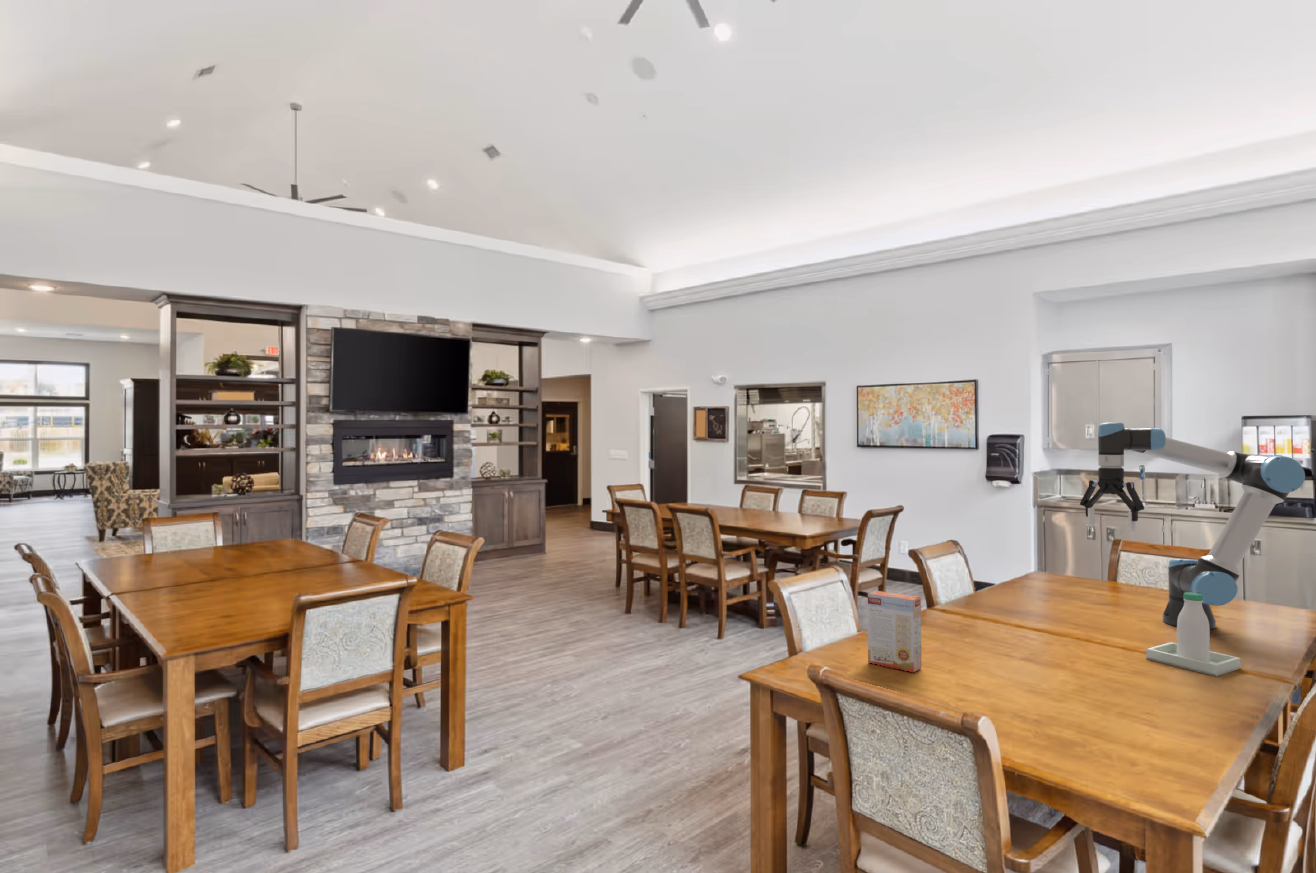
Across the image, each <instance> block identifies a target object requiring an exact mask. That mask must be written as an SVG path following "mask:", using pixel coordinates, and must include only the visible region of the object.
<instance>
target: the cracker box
mask: <svg viewBox="0 0 1316 873" xmlns="http://www.w3.org/2000/svg"><path fill="white" fill-rule="evenodd" d="M867 663H868V664H870V663H872V664H871V665H875V664H877V665H876V666H880V665H881V666H882V667H884V666H885V668H889V667H890V669H894V668H897V669H896V670H898V669H901V670H900V671H903V670H904V671H903V672H907V671H909V672H908V673H911V672H914V673H916V672H917V671H919V670H921V669H922V597H921V596H915V595H908V594H902V593H895V592H887V591H881V590H874V591H871V592H868V593H867Z"/></svg>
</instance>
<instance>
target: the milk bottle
mask: <svg viewBox="0 0 1316 873" xmlns="http://www.w3.org/2000/svg"><path fill="white" fill-rule="evenodd" d="M1183 597H1184V599H1183V600H1184V606H1183V608H1182V610H1181V612H1180V614H1179V616H1178V620H1177V626H1176V643H1177V655H1178V656H1182V657H1186V658H1190V659H1195V660H1199V661H1203V662H1207V663H1209V661H1210V651H1211V650H1210V648H1211V647H1210V646H1211V645H1210V644H1211V643H1210V641H1211V640H1210V630H1211V629H1209V621H1208V618H1207V616H1206V614H1205V612H1204V610H1203V607H1202V602H1203V595H1202V594H1199V593H1192V592H1186V593H1184V595H1183Z"/></svg>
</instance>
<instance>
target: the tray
mask: <svg viewBox="0 0 1316 873" xmlns="http://www.w3.org/2000/svg"><path fill="white" fill-rule="evenodd" d="M1145 650H1146V652H1145V654H1146V659H1147V660H1150V661H1153V662H1156V663H1157V662H1158V663H1161V664H1165V665H1169V666H1173V667H1176V668H1177V667H1178V668H1182V669H1185V670H1189V671H1193V672H1197V673H1201V674H1205V675H1208V676H1209V675H1210V676H1213V677H1218V676H1221V675H1225V674H1229V673H1230V672H1235V671H1236V670H1240V669H1241V666H1242V665H1241V659H1242V658H1241V657H1238V656H1234V655H1230V654H1224V653H1220V652H1215V651H1212V650H1210V661H1209V663H1207V662H1203V661H1199V660H1195V659H1190V658H1186V657H1182V656H1178V655H1177V642H1172V641H1170V642H1167V643H1164V644H1159V645H1155V646H1152V647H1149V648H1146V649H1145Z"/></svg>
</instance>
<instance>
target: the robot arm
mask: <svg viewBox="0 0 1316 873" xmlns="http://www.w3.org/2000/svg"><path fill="white" fill-rule="evenodd" d="M1097 433H1098V434H1097V438H1098V440H1097V443H1098V444H1097V445H1098V455H1097V456H1098V458H1097V459H1098V461H1097V462H1098V467H1099V468H1098V469H1097V471H1098V472H1097V474H1098V480H1096V479H1091V480H1089V481H1088V487H1087V488H1086V490H1085V493H1084V494H1083V496H1082V498H1081V499H1080V502H1079V505H1080V506H1083V507H1085V517H1087V527H1088V528H1089V527H1095V526H1096V524H1095V510H1096V509H1095V507H1094V506H1095V504H1096V503H1097V502H1098V501H1099V500H1100V498H1102V497H1103V496H1104V495H1116V496H1118V497H1119V498H1120V499H1121V501H1122V502H1123V503H1124V504H1125V505H1126V507H1128V509H1129V510H1130V511H1128V532H1135V531H1136V522H1138V521H1139V512H1141V511H1144V510H1145V506H1144V504H1143V503H1142V501H1141V498H1140V496H1139V494H1138V492H1137V490H1136V488H1135V483H1134V482H1133V481H1128V482H1124V479H1125V468H1123V467H1125V451H1132V452H1137V453H1140V454H1144V455H1149V456H1152V457H1157V458H1160V459H1163V460H1166V461H1170V462H1173V463H1174V462H1175V463H1179V464H1183V465H1187V466H1189V467H1193V468H1197V469H1201V470H1203V471H1204V470H1205V471H1208V472H1211V473H1215V474H1216V473H1217V474H1218V475H1219V477H1220V478H1223V479H1226V480H1227V479H1228V480H1230V481H1234V482H1236V483H1239V484H1242V485H1241V489H1242V490H1243V494H1242V496H1241V497H1240V499H1239V501H1238V502H1237V504H1236V506H1235V508H1234V509H1233V511H1232V513H1231V514H1230V516H1229V517H1228V520H1227V522H1226V524H1224V526H1223V528H1222V530H1221V532H1220V533H1219V535H1218V537H1217V538H1216V539H1215V542H1214V544H1213V545H1212V547H1211V548H1210V550H1209V552H1208V554H1207V555H1203V556H1200V557H1199V558H1198V559H1191V558H1189V559H1188V558H1186V559H1185V558H1172V559H1170V560H1169V561H1168V568H1167V569H1168V570H1167V571H1168V601H1167V604H1166V606H1165V609H1164V610H1163V613H1162V622H1163V623H1165V624H1167V625H1171V626H1174V627H1177V620H1178V616H1179V614H1180V612H1181V610H1182V608H1183V606H1184V600H1183V599H1184V597H1183V595H1184V593H1186V592H1192V593H1199V594H1202V595H1203V602H1202V607H1203V610H1204V612H1205V614H1206V616H1207V618H1208V621H1209V630H1213V629H1216V627H1217V624H1216V623H1217V622H1216V618H1215V615H1214V613H1213V611H1212V607H1211V606H1213V607H1219V606H1225V605H1227V604H1229V603H1231V602H1233V600H1234V599H1235V598H1236V597H1237V594H1238V585H1237V581H1238V579H1239V577H1240V575H1241V574H1240V572H1239V569H1238V568H1239V565H1240V564H1241V563H1242V561H1243V559H1244V557H1245V556H1246V554H1247V553H1248V551H1249V549H1250V548H1251V546H1252V544H1253V543H1254V541H1255V539H1256V538H1257V537H1258V536H1257V535H1259V532H1260V530H1261V529H1262V527H1263V525H1265V522H1266V521H1267V519H1268V517H1269V515H1271V512H1272V510H1273V509H1274V507H1275V505H1277V504H1281V503H1284V502H1285V500H1286V499H1287V497H1288V495H1289V494H1290V493H1293V492H1296V491H1297V490H1299V489H1300V488H1301V487H1302V486H1303V485H1304V483H1305V480H1306V473H1305V470H1304V468H1303V466H1302V464H1301V463H1300V462H1299V461H1297V460H1295V459H1294V458H1292V457H1290V456H1284V455H1281V454H1274V455H1273V454H1269V455H1267V454H1254V453H1253V454H1252V453H1251V454H1249V453H1242V452H1241V453H1240V452H1236V451H1232V450H1230V451H1228V452H1224V451H1220V450H1216V449H1212V448H1208V447H1205V446H1201V445H1197V444H1194V443H1189V442H1187V441H1186V442H1185V441H1181V440H1177V439H1173V438H1169V437H1166V433H1165V431H1164V430H1163V429H1162V428H1159V427H1158V428H1154V427H1150V428H1149V427H1146V428H1145V427H1143V428H1142V427H1139V428H1136V427H1135V428H1129V427H1128V428H1126V427H1125V424H1124V423H1123V422H1101V423H1100V424H1099V426H1098V431H1097ZM1096 487H1099V488H1098V489H1097V491H1096V492H1095V490H1096ZM1124 488H1125V489H1126V491H1127V492H1126V491H1125V490H1124ZM1094 492H1095V494H1094ZM1127 493H1128V494H1129V496H1128V495H1127ZM1092 495H1093V496H1092Z"/></svg>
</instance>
